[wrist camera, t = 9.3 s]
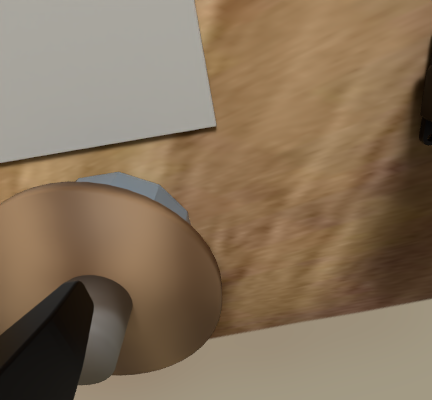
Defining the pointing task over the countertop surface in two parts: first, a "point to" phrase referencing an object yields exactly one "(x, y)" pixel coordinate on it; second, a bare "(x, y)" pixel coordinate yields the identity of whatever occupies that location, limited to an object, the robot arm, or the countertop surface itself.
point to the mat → (98, 74)
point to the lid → (111, 272)
